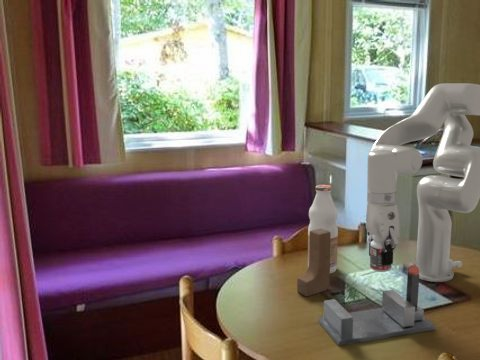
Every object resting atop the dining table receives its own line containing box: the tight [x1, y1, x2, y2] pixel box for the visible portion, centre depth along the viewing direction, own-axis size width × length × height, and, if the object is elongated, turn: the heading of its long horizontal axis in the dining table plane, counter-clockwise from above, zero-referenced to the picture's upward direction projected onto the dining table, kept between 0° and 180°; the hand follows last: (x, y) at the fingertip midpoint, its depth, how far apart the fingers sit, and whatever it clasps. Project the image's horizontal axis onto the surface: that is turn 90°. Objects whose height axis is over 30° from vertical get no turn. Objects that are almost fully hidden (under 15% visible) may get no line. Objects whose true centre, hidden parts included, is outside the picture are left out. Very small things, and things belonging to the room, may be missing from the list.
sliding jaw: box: [381, 264, 425, 327], centre depth 124 cm, size 7×10×14 cm
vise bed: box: [317, 298, 436, 347], centre depth 123 cm, size 26×12×6 cm, turn 104°
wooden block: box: [296, 228, 331, 297], centre depth 142 cm, size 9×4×18 cm, turn 122°
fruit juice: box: [307, 184, 339, 275], centre depth 157 cm, size 9×9×28 cm
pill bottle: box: [369, 235, 392, 273], centre depth 133 cm, size 6×6×10 cm
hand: (380, 259), depth 134 cm, fingers closed on pill bottle, 5 cm apart
